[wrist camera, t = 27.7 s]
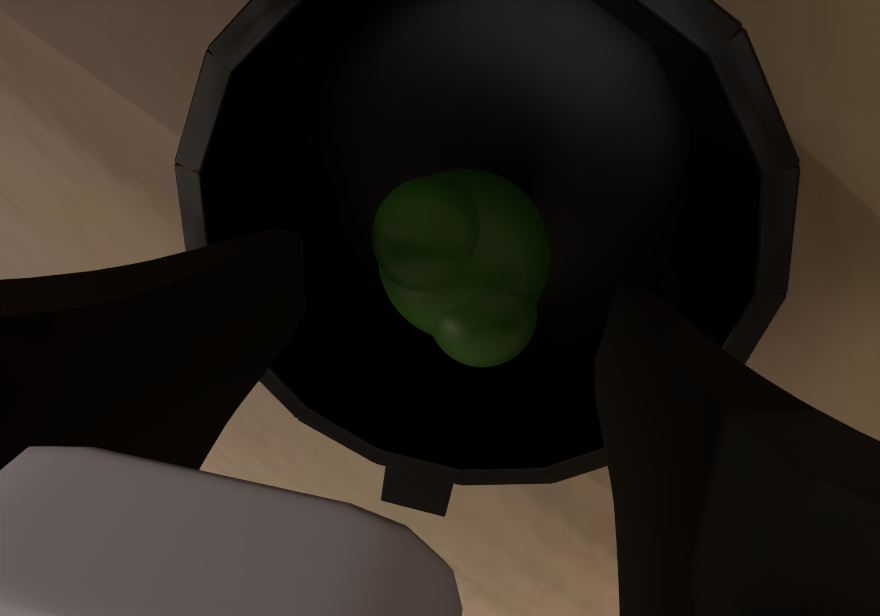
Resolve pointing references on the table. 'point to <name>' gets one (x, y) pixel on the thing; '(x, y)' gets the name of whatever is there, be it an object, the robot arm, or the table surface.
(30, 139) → the table surface
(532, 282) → the broccoli
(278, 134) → the pot
